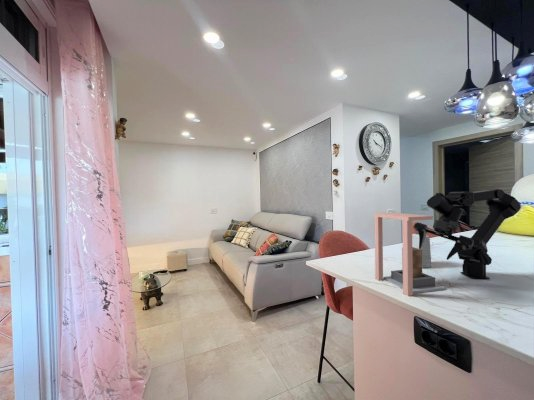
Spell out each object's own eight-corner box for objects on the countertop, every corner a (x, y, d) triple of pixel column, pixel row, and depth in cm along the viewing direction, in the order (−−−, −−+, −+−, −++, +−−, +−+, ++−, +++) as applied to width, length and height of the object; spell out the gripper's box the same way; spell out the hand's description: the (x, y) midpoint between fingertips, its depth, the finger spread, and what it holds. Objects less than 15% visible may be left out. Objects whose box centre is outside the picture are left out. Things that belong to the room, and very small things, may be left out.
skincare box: (431, 267, 101) (431, 236, 101) (421, 268, 100) (421, 236, 99) (415, 262, 109) (415, 233, 109) (405, 263, 108) (405, 233, 107)
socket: (411, 275, 91) (411, 266, 91) (445, 289, 77) (445, 279, 77) (383, 278, 88) (383, 269, 88) (412, 293, 75) (412, 283, 74)
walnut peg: (412, 279, 85) (411, 246, 85) (422, 283, 81) (422, 249, 81) (402, 280, 85) (402, 247, 84) (412, 284, 80) (412, 250, 80)
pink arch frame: (395, 275, 91) (394, 212, 91) (433, 293, 74) (432, 216, 74) (374, 278, 89) (373, 213, 89) (409, 296, 72) (408, 217, 72)
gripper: (419, 205, 88) (402, 238, 86) (480, 220, 74) (462, 260, 72) (423, 215, 95) (408, 246, 94) (480, 230, 81) (463, 267, 80)
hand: (432, 253), depth 85 cm, fingers open, 9 cm apart
